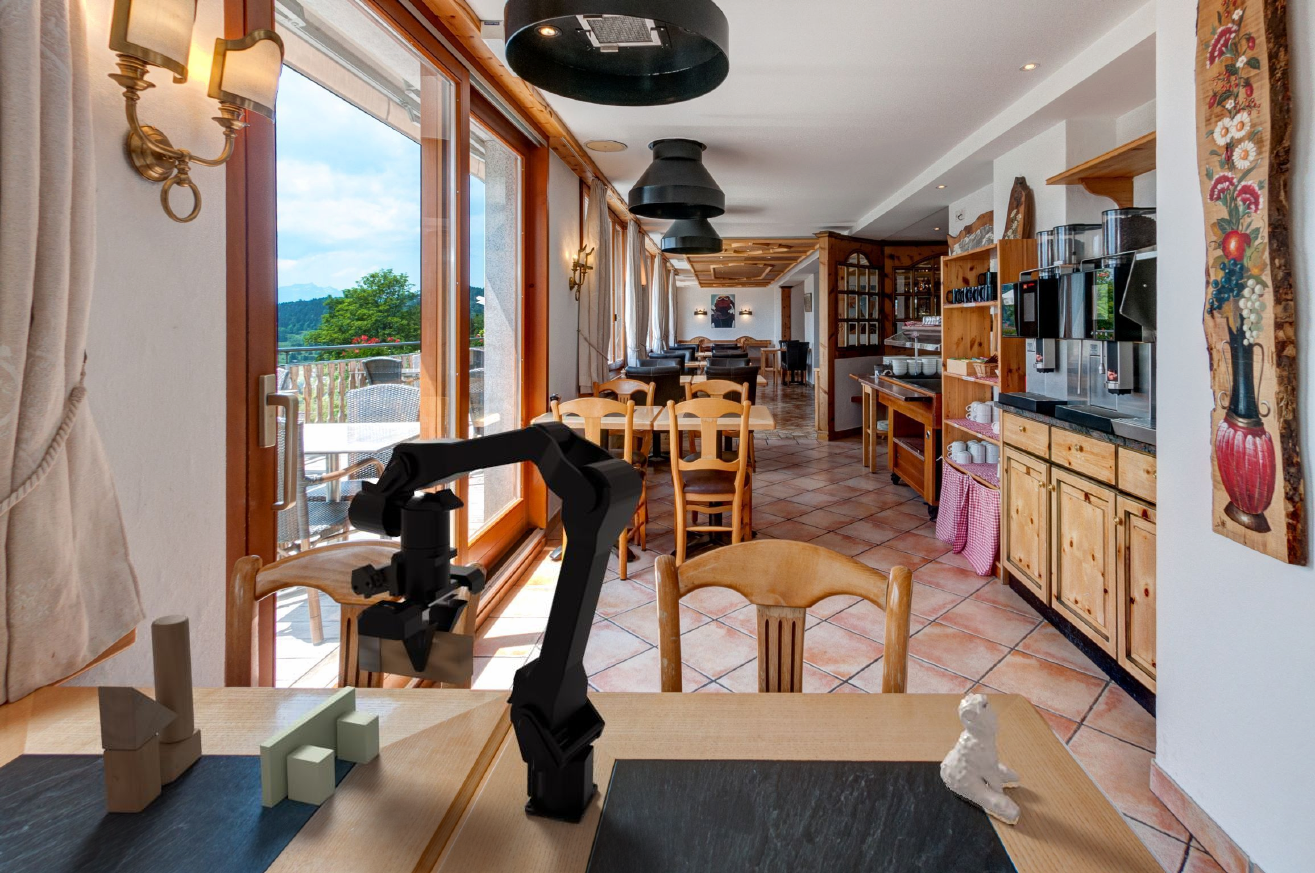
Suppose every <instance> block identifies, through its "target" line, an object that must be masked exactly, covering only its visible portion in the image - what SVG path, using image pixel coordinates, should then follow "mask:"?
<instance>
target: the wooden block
mask: <svg viewBox="0 0 1315 873" xmlns="http://www.w3.org/2000/svg"><path fill="white" fill-rule="evenodd" d="M150 626H151V627H150V630H151V645H152V646H151V648H152V663H153V664H152V665H153V667H152V668H153V680H154V682H153V684H154V697H155V700H154V699H153V698H152V697H150V696H148V695H147V694H145V693H143V692H141V690H138V689H137V688H135V687H133V686H119V685H118V686H115V685H112V686H111V685H108V686H107V685H99V686H97V690H98V691H97V694H98V710H99V721H100V722H99V724H100V737H101V738H100V739H101V749H102V750H103V753H102V755H103V767H104V768H103V769H104V781H105V797H106V811H107V812H108V813H128V814H129V813H131V814H132V813H135V814H137V813H141V812H142V811H144V809H145V808H147V807H148V806H149V805H150V804H151V803H152V802H154V800H155V799H157V798H158V797H159V796H160V795H161V793H162V786H165V785H168V784H170V783H172V782H175V781H176V779H177V778H178V777H180V776H181V775H182V774H183V773H184V772H185V771H186V770H188V768H190V767H191V766H192V765H193V764H194V763H195V762H196V761H197V760H198V759H199V758H200V757H201V756H202V754H203V750H202V749H203V748H202V733H201V732H202V730H201V729H200V728H195V713H194V712H195V711H194V710H195V709H194V694H193V691H194V690H193V674H192V673H193V672H192V657H191V656H192V655H191V651H192V650H191V637H190V633H191V632H190V618H189V617H188V616H187V615H184V614H169V615H165V616H161V617H159V618H156V619H155V620H152V623H151V625H150Z"/></svg>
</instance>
